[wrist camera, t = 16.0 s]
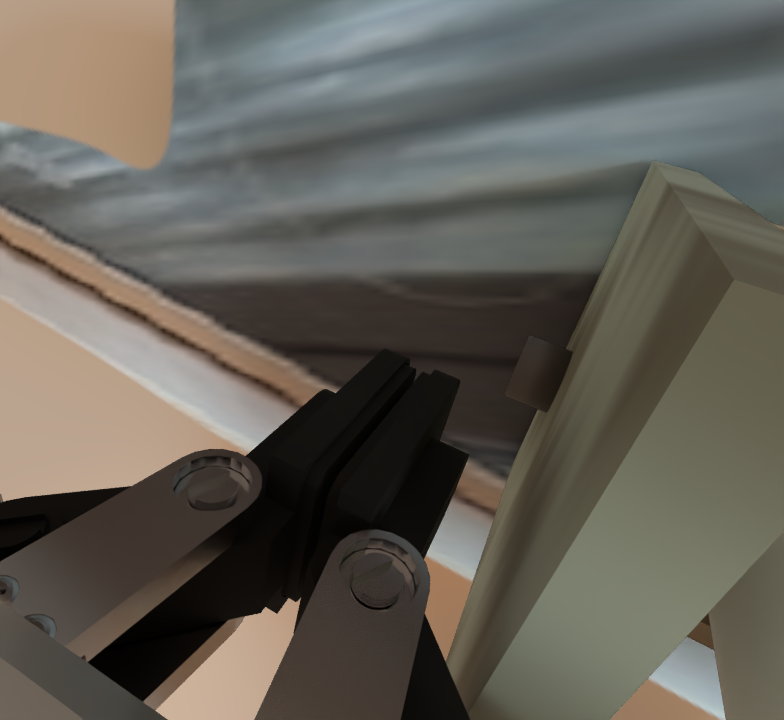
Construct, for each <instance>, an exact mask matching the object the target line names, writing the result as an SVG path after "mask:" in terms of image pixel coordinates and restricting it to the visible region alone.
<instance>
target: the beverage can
mask: <svg viewBox="0 0 784 720" xmlns="http://www.w3.org/2000/svg"><path fill="white" fill-rule="evenodd" d="M708 614H709V620H710V626H711V632H712V638H713V645H714V651H715V657H716V663H717V669H718V675H719V681H720V687H721V693H722V699H723V705H724V711H725V718H726V720H784V531H783V533H782V534H781V535H780V536H779V537H778V538H777V539H776V540H775V541H774V542H773V543H772V544H771V546H770V547H769V548H768V549H767V550H766V551H765V552H764V553H763V554H762V555H761V556H760V557H759V559H758V560H757V561H756V562H755V563H754V564H753V565H752V566H751V567H750V568H749V569H748V570H747V572H746V573H745V574H744V575H743V576H742V577H741V578H740V579H739V580H738V581H737V582H736V583H735V585H734V586H733V587H732V588H731V589H730V590H729V591H728V592H727V593H726V594H725V595H724V596H723V597H722V599H721V600H720V601H719V602H718V603H717V604H716V605H715V606H714V607H713V608H712V609H711V610H710V612H709V613H708Z"/></svg>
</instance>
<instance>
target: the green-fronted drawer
mask: <svg viewBox="0 0 784 720" xmlns="http://www.w3.org/2000/svg"><path fill="white" fill-rule="evenodd" d="M504 395H505V396H507V397H510V398H512V399H514V400H517V401H519V402H522V403H524V404H526V405H529V406H531V407H534V408H536V409H538V410H537V412H536V414H535V417H534V419H533V421H532V423H531V425H530V427H529V430H528V432H527V434H526V436H525V438H524V440H523V442H522V445H521V447H520V449H519V451H518V453H517V455H516V458H515V460H514V462H513V464H512V467H511V470H510V473H509V476H508V479H507V482H506V485H505V488H504V491H503V494H502V497H501V500H500V503H499V506H498V509H497V512H496V515H495V518H494V521H493V523H492V526H491V529H490V532H489V535H488V538H487V541H486V544H485V547H484V550H483V553H482V556H481V559H480V562H479V565H478V568H477V571H476V574H475V577H474V580H473V583H472V586H471V589H470V592H469V595H468V598H467V601H466V604H465V607H464V610H463V612H462V615H461V618H460V621H459V624H458V627H457V630H456V633H455V636H454V639H453V642H452V645H451V648H450V651H449V654H448V657H447V660H446V664H447V667H448V669H449V671H450V674H451V676H452V678H453V681H454V683H455V685H456V688H457V690H458V692H459V695H460V697H461V699H462V701H463V704H464V706H465V708H466V711H467V713H468V715H469V718H470V720H610V719H611V718H612V717H613V715H614V714H615V713H616V712H617V711H618V710H619V709H620V708H621V707H622V706H623V705H624V703H625V702H626V701H627V700H628V699H629V698H630V697H631V696H632V695H633V694H634V693H635V692H636V691H637V689H638V688H639V687H640V686H641V685H642V684H643V683H644V682H645V681H646V680H647V679H648V678H649V676H650V675H651V674H652V673H653V672H654V671H655V670H656V669H657V668H658V667H659V666H660V665H661V664H662V662H663V661H664V660H665V659H666V658H667V657H668V656H669V655H670V654H671V653H672V652H673V651H674V649H675V648H676V647H677V646H678V645H679V644H680V643H681V642H682V641H683V640H684V639H685V638H686V636H687V637H689V638H691V639H693V640H695V641H697V642H699V643H701V644H703V645H705V646H707V647H709V648H711V649H713V650H714V645H713V638H712V632H711V626H710V620H709V614H708V613H709V612H710V610H711V609H712V608H713V607H714V606H715V605H716V604H717V603H718V602H719V601H720V600H721V599H722V597H723V596H724V595H725V594H726V593H727V592H728V591H729V590H730V589H731V588H732V587H733V586H734V585H735V583H736V582H737V581H738V580H739V579H740V578H741V577H742V576H743V575H744V574H745V573H746V572H747V570H748V569H749V568H750V567H751V566H752V565H753V564H754V563H755V562H756V561H757V560H758V559H759V557H760V556H761V555H762V554H763V553H764V552H765V551H766V550H767V549H768V548H769V547H770V546H771V544H772V543H773V542H774V541H775V540H776V539H777V538H778V537H779V536H780V535H781V534H782V533H783V531H784V226H781V225H777V224H774V223H771V222H769V221H768V220H767V219H765V218H764V217H762V216H761V215H759V214H758V213H756V212H755V211H754V210H752V209H751V208H749V207H748V206H746V205H745V204H744V203H742V202H741V201H739V200H738V199H736V198H735V197H734V196H732V195H731V194H729V193H728V192H726V191H725V190H724V189H722V188H721V187H719V186H718V185H716V184H715V183H713V182H712V181H711V180H709V179H708V178H706V177H705V176H703V175H702V174H701V173H699V172H695V171H691V170H688V169H684V168H680V167H677V166H673V165H669V164H666V163H662V162H658V161H655V160H653V161H652V164H651V166H650V168H649V170H648V172H647V174H646V177H645V179H644V181H643V183H642V185H641V187H640V190H639V192H638V194H637V196H636V198H635V200H634V203H633V205H632V207H631V209H630V211H629V213H628V215H627V218H626V220H625V222H624V224H623V226H622V228H621V231H620V233H619V235H618V237H617V239H616V241H615V244H614V246H613V248H612V250H611V252H610V254H609V257H608V259H607V261H606V263H605V265H604V267H603V270H602V272H601V274H600V276H599V278H598V280H597V282H596V285H595V287H594V289H593V291H592V293H591V295H590V298H589V300H588V302H587V304H586V306H585V308H584V311H583V313H582V315H581V317H580V319H579V321H578V324H577V326H576V328H575V330H574V332H573V334H572V337H571V339H570V341H569V343H568V345H567V347H566V349H565V348H562V347H560V346H557V345H554V344H552V343H549V342H546V341H544V340H541V339H539V338H536V337H533V336H531V335H529V337H528V339H527V342H526V344H525V346H524V348H523V351H522V353H521V355H520V358H519V360H518V363H517V365H516V367H515V370H514V372H513V374H512V377H511V379H510V382H509V384H508V387H507V389H506V392H505V394H504Z"/></svg>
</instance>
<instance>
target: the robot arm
mask: <svg viewBox="0 0 784 720" xmlns="http://www.w3.org/2000/svg"><path fill="white" fill-rule="evenodd" d="M409 365H410V359H409V358H407V357H404V356H402V355H400V354H397V353H395V352H393V351H390V350H388V349H384V350H382V351H381V352H380V353H379V354H378V355H377V356H376V357H375V358H374V359H372V360H371V361H370V362H369V363H368V364H367V365H366V366H365V367H364V368H363V369H362V370H361V371H360V372H358V373H357V374H356V375H355V376H354V377H353V378H352V379H351V380H350V381H349V382H348V383H347V384H345V385H344V386H343V387H342V388H341V389H340V390H339V391H338V392H337V393H334V392H332V391H329V390H327V389H324V390H322V391H320V392H319V393H317V394H316V395H315V396H314V397H313V398H312V399H310V400H309V401H308V402H307V403H306V404H305V405H304V406H302V407H301V408H300V409H299V410H298V411H297V412H296V413H294V414H293V415H292V416H291V417H290V418H289V419H288V420H286V421H285V422H284V423H283V424H282V425H281V426H280V427H278V428H277V429H276V430H275V431H274V432H273V433H271V434H270V435H269V436H268V437H267V438H266V439H265V440H263V441H262V442H261V443H260V444H259V445H258V446H257V447H255V448H254V449H253V450H252V451H251V452H250V453H249V454H247V455H246V456H244V455H242V454H240V453H238V452H234V451H229V450H224V449H208V450H202V451H198V452H194V453H191V454H189V455H187V456H184V457H182V458H180V459H178V460H177V461H175V462H173V463H172V464H170V465H168V466H166V467H165V468H163V469H161V470H159V471H158V472H156V473H154V474H152V475H151V476H149V477H147V478H145V479H144V480H142V481H140V482H138V483H137V484H135V485H133V486H129V487H119V488H109V489H100V490H90V491H80V492H72V493H61V494H51V495H42V496H32V497H24V498H19V499H14V500H9V501H5V502H3V500H2V495H1V494H0V720H167V719H166V718H164V717H163V716H162V715H160V714H159V713H158V712H156V711H155V710H156V709H157V708H158V707H159V706H160V705H161V704H162V703H163V702H164V701H165V700H166V699H167V698H168V697H169V696H170V695H171V694H172V693H173V692H174V691H175V690H176V689H177V688H178V687H179V686H180V685H181V684H182V683H183V682H184V681H185V680H186V679H187V678H188V677H189V676H190V675H191V674H192V673H193V672H194V671H195V670H196V669H197V668H198V667H199V666H200V665H201V664H202V663H204V661H206V660H207V659H208V657H210V656H211V655H212V654H213V652H215V651H216V650H217V649H218V648H219V647H220V646H221V645H222V643H224V641H226V640H227V639H228V638H229V637H230V636H231V635H232V634H233V633H234V632H235V630H236V629H237V628H238V626H239V625H240V624H241V623H242V621H243V618H244V616H249V615H253V614H258V613H261V612H262V610H263V609H264V608H265V607H267V608H268V609H270V610H272V611H273V612H275V613H278V612H279V611H280V609H281V608H282V606H283V605H284V603H285V602H286V601H287V599H288V598H290V599H292V600H294V601H295V602H296V601H298V600H299V599H300V598H301V600H300V605H299V610H298V614H297V619H296V624H295V629H294V635H293V637H292V639H291V642H290V644H289V646H288V648H287V650H286V652H285V655H284V657H283V659H282V661H281V663H280V665H279V667H278V670H277V672H276V674H275V676H274V678H273V680H272V683H271V685H270V687H269V689H268V691H267V694H266V696H265V698H264V700H263V702H262V704H261V707H260V709H259V711H258V713H257V715H256V717H255V719H254V720H470V718H469V715H468V713H467V711H466V708H465V706H464V704H463V701H462V699H461V697H460V695H459V692H458V690H457V688H456V685H455V683H454V681H453V678H452V676H451V674H450V671H449V669H448V667H447V664H446V662H445V660H444V657H443V655H442V653H441V650H440V648H439V646H438V644H437V641H436V639H435V637H434V634H433V632H432V630H431V627H430V625H429V622H428V620H427V618H426V616H425V610H426V605H427V601H428V596H429V592H430V575H429V572H428V568H427V565H426V562H425V561H424V558H425V556H426V553H427V551H428V549H429V547H430V545H431V543H432V541H433V538H434V536H435V534H436V532H437V530H438V528H439V526H440V523H441V521H442V519H443V517H444V515H445V512H446V510H447V508H448V506H449V503H450V501H451V499H452V496H453V494H454V492H455V489H456V487H457V484H458V482H459V480H460V477H461V475H462V472H463V470H464V467H465V465H466V462H467V459H468V457H469V454H467V453H465V452H462V451H460V450H458V449H456V448H454V447H452V446H449V445H447V444H445V443H443V442H441V441H440V438H441V436H442V433H443V430H444V427H445V424H446V421H447V419H448V416H449V413H450V410H451V407H452V405H453V402H454V399H455V396H456V393H457V390H458V388H459V384H460V380H459V379H457V378H454V377H452V376H449V375H447V374H445V373H442V372H440V371H438V370H434V371H433V372H432V374H431V375H429V374H427V373H424V372H422V373H421V374H420V376H419V377H418V378H417V379H416V380H415V382H414V379H415V375H416V369H415V368H413V367H410V366H409ZM413 382H414V383H413Z"/></svg>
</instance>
